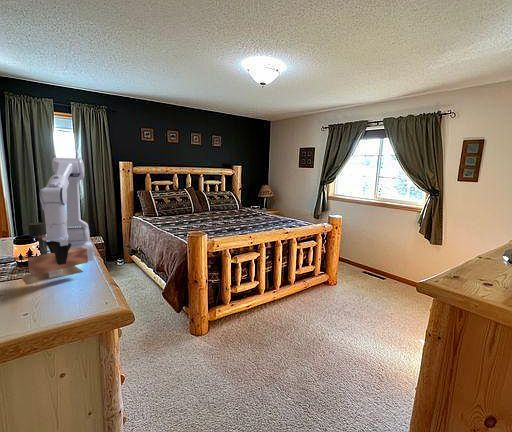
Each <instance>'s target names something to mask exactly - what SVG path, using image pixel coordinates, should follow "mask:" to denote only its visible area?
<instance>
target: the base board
mask: <svg viewBox="0 0 512 432" xmlns="http://www.w3.org/2000/svg"><path fill="white" fill-rule="evenodd" d="M61 270H62V271H63V276H59V277H54V278H48V277H47V276H46V275H45V274H44V273H42V274H38V275H33V274H31V273H29V274H25V275H20V278H21V280H23V282H24V283H25V284H26V285H31V284H37V283H40V282H45V281H49V280H54V279H58V278H59V279H60V278H63V277H68V276H71V275H76V274H80V273H84V270H82V269H80V267H78V266H77V265H75V266H71V267H67V268H63V269H61Z"/></svg>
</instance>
